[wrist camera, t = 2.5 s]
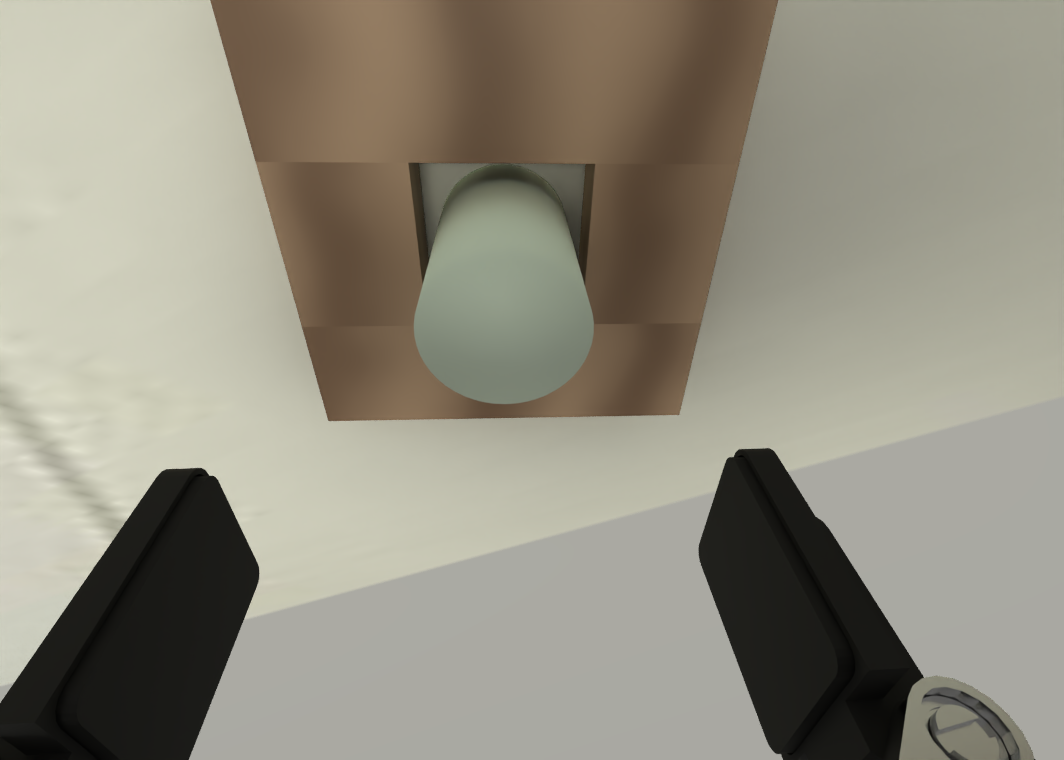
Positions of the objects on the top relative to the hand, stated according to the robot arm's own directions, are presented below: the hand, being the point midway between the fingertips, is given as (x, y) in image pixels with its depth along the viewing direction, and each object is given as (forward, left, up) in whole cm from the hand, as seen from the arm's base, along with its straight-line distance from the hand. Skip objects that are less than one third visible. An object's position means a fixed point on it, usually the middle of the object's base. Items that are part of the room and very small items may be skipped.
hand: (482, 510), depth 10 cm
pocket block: (0, 0, -14) cm, 14 cm away
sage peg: (0, 0, -14) cm, 14 cm away
